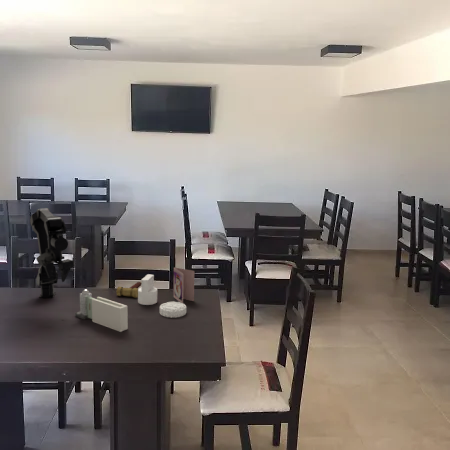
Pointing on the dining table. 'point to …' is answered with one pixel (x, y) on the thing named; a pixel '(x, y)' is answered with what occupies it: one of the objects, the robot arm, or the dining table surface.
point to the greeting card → (183, 284)
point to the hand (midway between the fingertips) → (56, 279)
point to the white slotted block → (110, 314)
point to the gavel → (129, 290)
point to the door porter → (83, 305)
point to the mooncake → (173, 309)
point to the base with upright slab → (147, 291)
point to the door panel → (90, 306)
